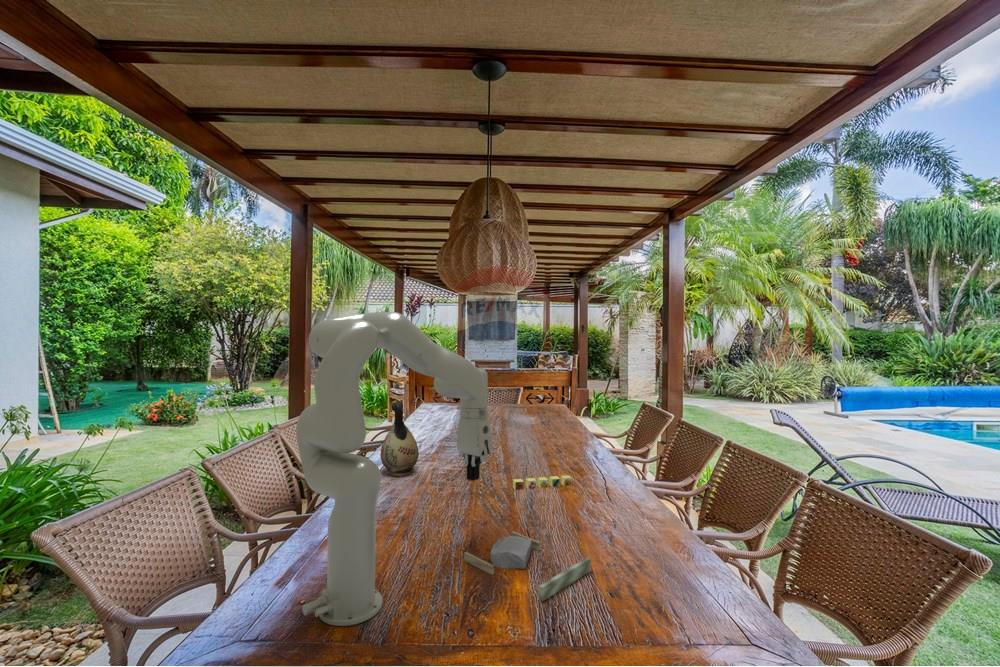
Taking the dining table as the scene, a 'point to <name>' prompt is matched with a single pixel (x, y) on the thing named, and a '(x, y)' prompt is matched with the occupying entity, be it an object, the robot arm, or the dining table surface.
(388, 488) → the dining table surface
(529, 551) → the stone block
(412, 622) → the dining table surface
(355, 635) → the dining table surface
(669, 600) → the dining table surface
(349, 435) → the robot arm
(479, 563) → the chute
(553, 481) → the yellow picture cubes row
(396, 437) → the round beige bottle
